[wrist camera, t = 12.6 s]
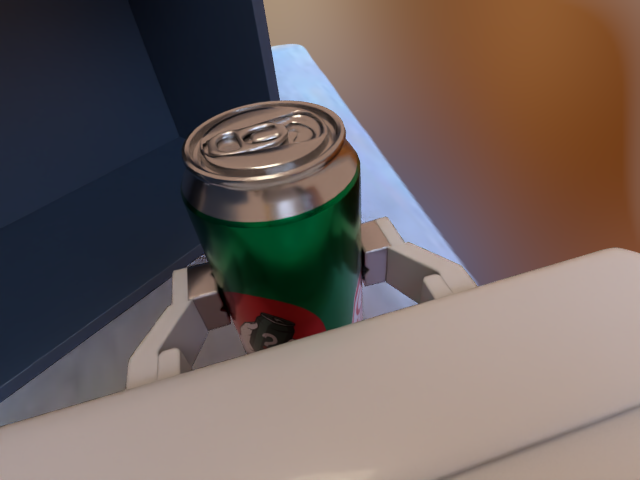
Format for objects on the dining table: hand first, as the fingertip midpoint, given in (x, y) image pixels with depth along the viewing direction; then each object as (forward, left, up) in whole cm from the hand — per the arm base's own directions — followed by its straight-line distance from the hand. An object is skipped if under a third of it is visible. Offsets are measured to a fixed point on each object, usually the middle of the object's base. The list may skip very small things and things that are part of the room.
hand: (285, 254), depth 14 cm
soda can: (-1, -1, -7) cm, 7 cm away
